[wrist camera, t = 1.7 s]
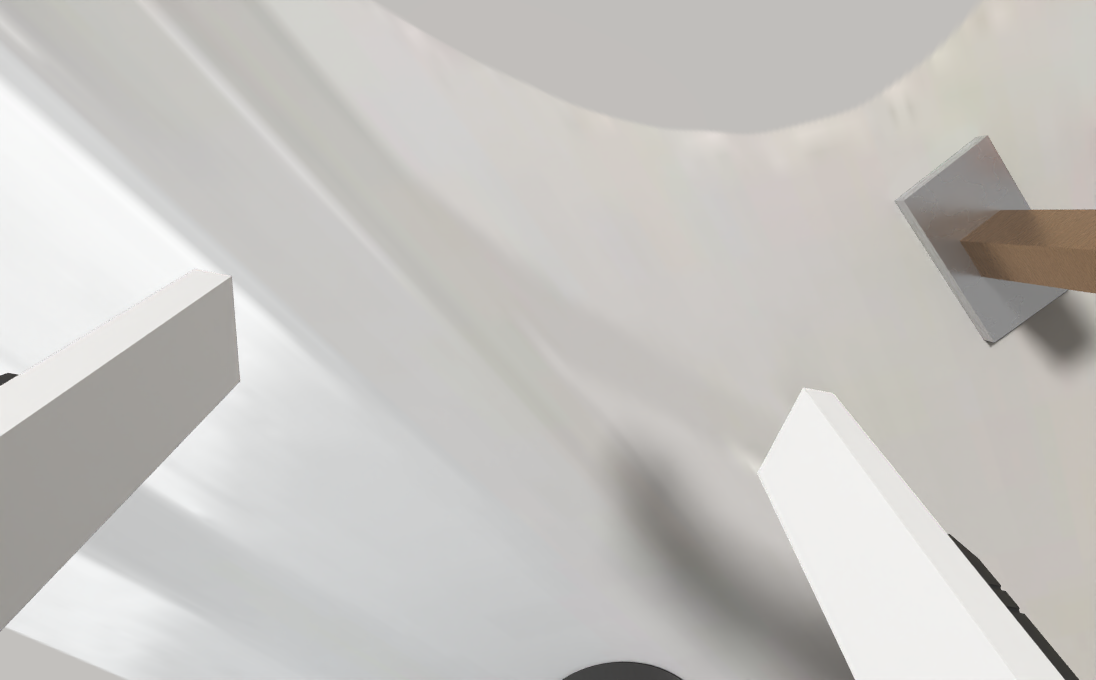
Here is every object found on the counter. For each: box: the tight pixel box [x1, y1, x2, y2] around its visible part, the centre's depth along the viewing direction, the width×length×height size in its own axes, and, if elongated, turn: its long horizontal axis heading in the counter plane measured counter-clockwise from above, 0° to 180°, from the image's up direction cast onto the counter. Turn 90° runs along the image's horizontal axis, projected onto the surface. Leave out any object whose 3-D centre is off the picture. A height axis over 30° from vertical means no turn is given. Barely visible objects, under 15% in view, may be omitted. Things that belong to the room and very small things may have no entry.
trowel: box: [895, 135, 1096, 343], centre depth 30 cm, size 12×6×11 cm, turn 40°
